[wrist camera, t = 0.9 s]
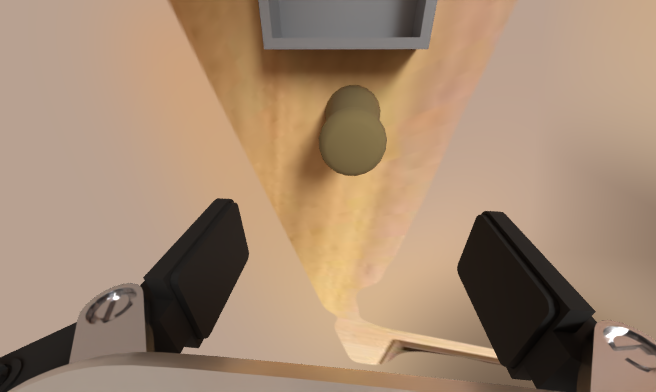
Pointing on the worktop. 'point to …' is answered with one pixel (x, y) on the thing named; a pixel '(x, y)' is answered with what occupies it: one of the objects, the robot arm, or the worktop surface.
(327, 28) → the box
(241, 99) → the worktop surface
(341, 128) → the cork
